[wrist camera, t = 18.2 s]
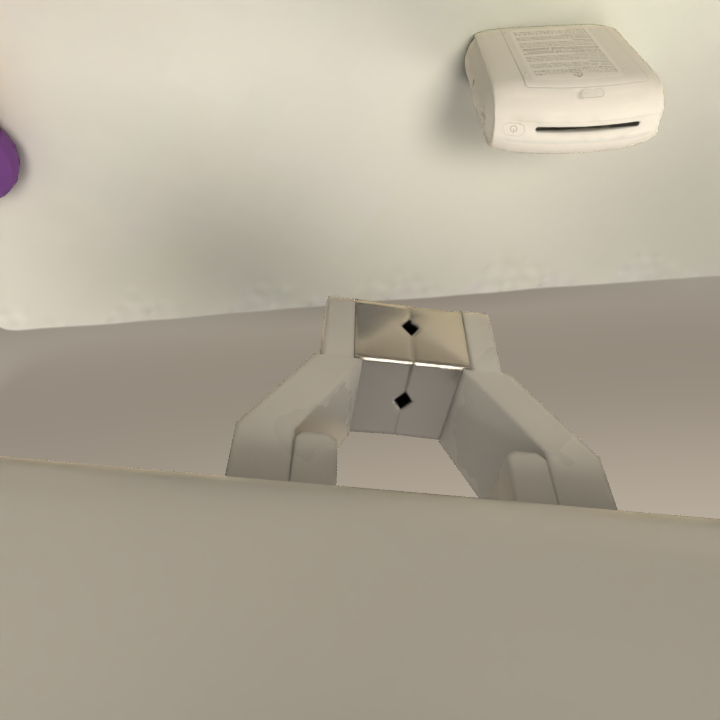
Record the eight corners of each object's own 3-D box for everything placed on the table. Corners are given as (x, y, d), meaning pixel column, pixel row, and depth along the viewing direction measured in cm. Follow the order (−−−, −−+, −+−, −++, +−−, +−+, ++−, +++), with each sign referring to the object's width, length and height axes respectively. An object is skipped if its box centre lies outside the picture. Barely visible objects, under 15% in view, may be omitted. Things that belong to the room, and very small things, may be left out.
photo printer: (460, 91, 45) (484, 171, 36) (464, 26, 42) (491, 95, 33) (606, 84, 45) (667, 164, 36) (620, 18, 42) (690, 86, 33)
